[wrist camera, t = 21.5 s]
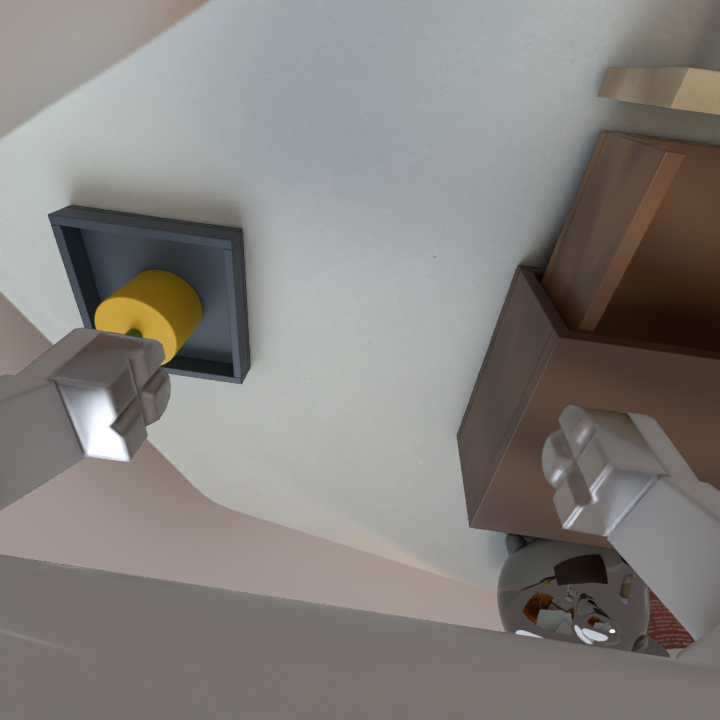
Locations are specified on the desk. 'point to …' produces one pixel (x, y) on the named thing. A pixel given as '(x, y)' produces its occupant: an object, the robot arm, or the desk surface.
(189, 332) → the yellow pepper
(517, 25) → the desk surface
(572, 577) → the piggy bank
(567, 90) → the desk surface
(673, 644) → the pill bottle
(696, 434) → the cabinet
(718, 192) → the drawer
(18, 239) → the desk surface
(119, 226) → the tray
